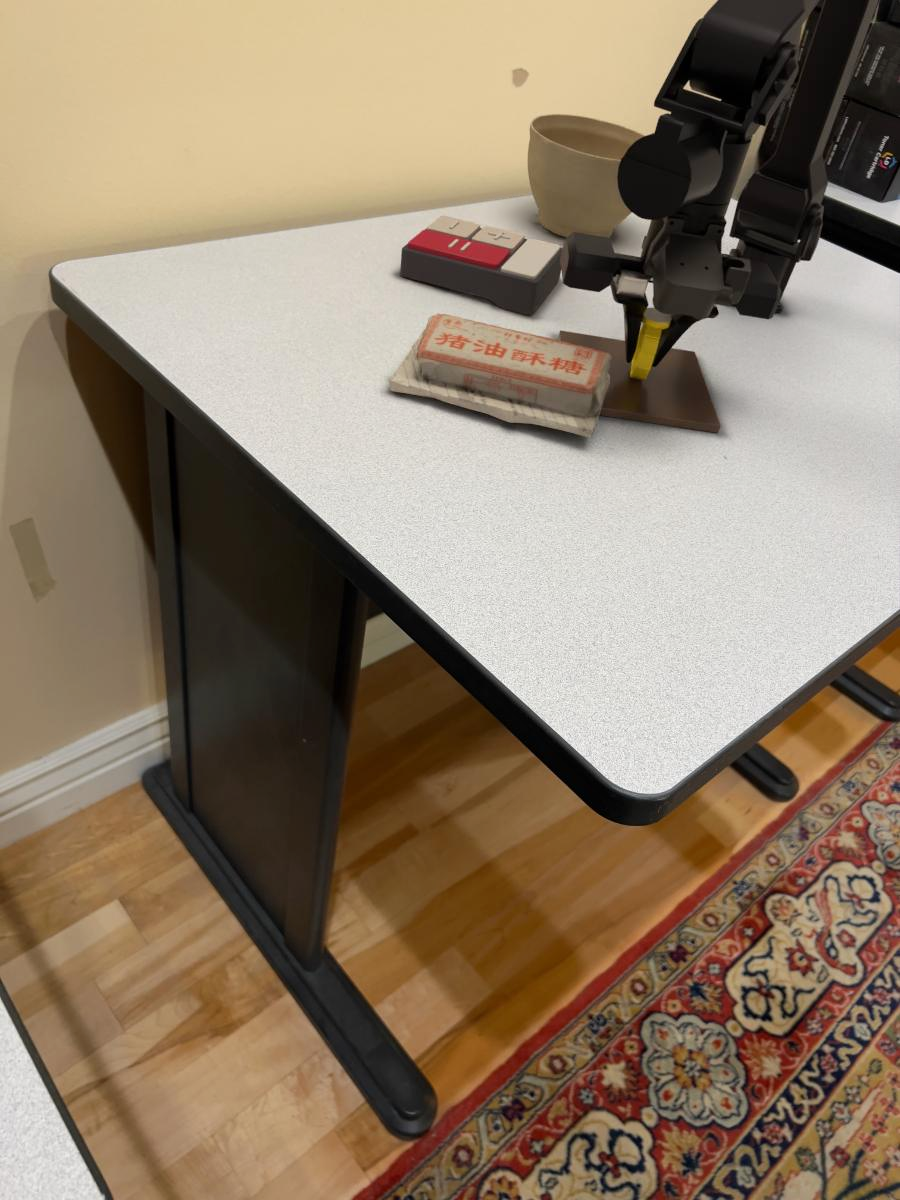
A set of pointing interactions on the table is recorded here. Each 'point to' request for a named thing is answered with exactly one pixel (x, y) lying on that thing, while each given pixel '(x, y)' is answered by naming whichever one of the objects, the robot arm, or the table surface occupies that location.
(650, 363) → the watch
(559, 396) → the packaged product
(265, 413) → the table surface
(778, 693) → the table surface
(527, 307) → the calculator
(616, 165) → the planter bowl
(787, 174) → the robot arm
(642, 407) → the coaster
